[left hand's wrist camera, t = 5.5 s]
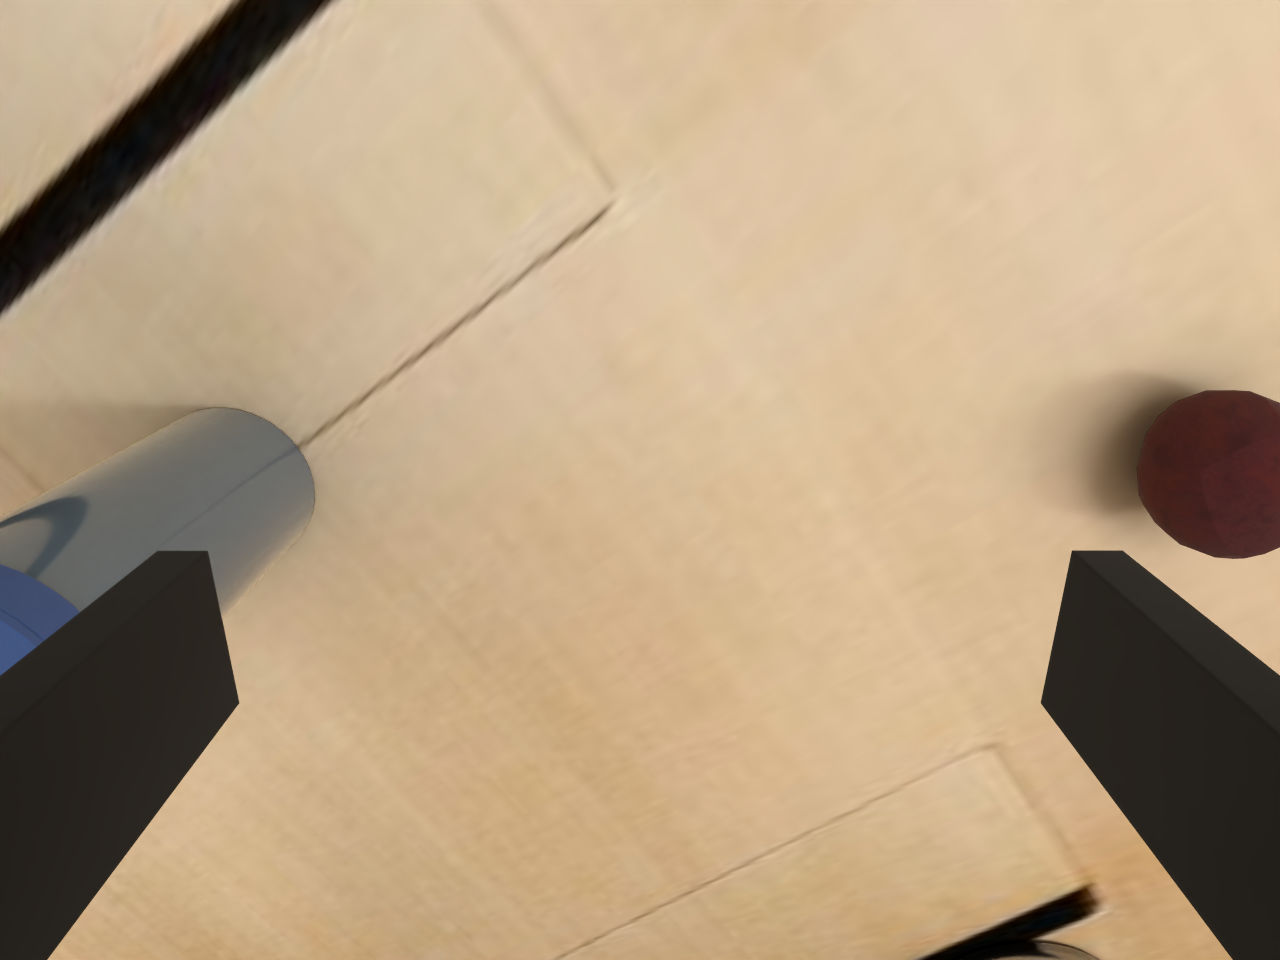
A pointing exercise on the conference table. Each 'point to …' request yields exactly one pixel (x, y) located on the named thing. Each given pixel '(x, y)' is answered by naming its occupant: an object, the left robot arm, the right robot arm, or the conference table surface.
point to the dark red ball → (1215, 473)
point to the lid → (27, 615)
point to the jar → (169, 508)
